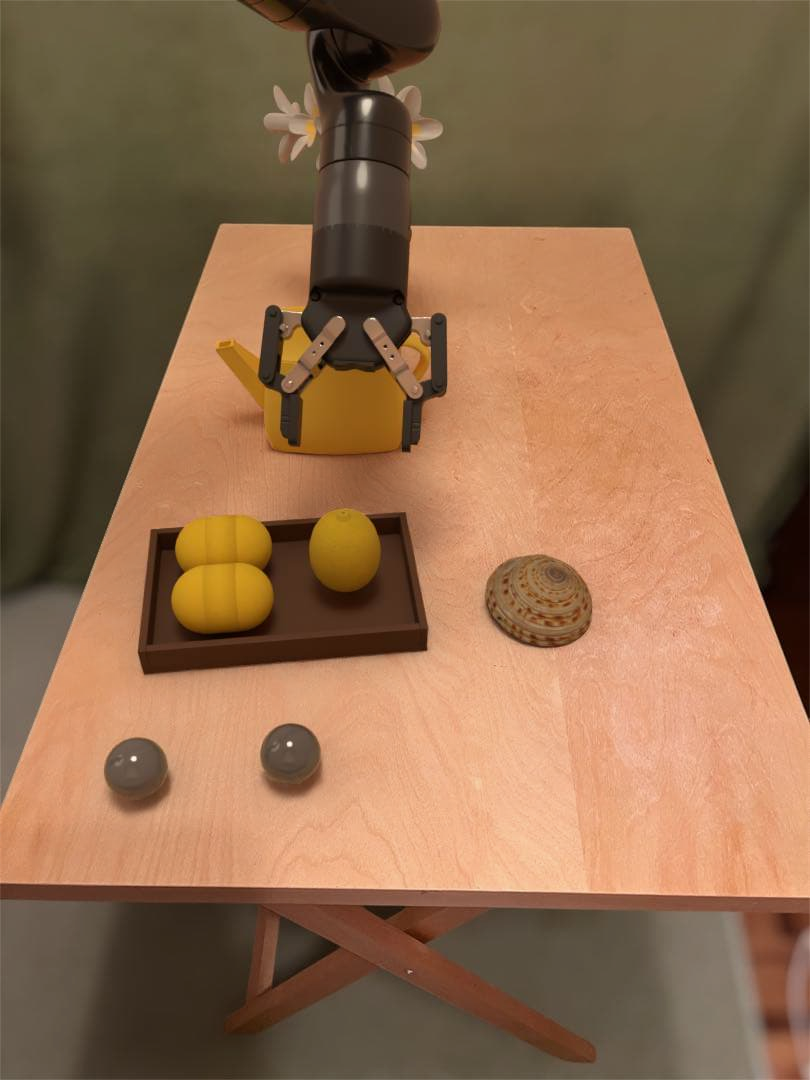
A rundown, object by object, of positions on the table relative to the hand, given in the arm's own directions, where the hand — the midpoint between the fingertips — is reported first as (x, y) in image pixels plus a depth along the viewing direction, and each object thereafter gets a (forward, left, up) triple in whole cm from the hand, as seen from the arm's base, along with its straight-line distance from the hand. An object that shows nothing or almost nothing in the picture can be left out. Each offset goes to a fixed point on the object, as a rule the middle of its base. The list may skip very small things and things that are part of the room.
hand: (350, 448), depth 69 cm
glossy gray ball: (-16, -20, -11) cm, 28 cm away
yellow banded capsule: (-10, -1, -11) cm, 15 cm away
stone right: (-6, -20, -11) cm, 24 cm away
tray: (-6, -4, -11) cm, 13 cm away
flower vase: (+4, +42, -12) cm, 43 cm away
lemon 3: (-1, -4, -11) cm, 12 cm away
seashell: (+14, -7, -12) cm, 20 cm away
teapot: (-1, +20, -11) cm, 23 cm away
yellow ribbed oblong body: (-10, -7, -11) cm, 16 cm away
